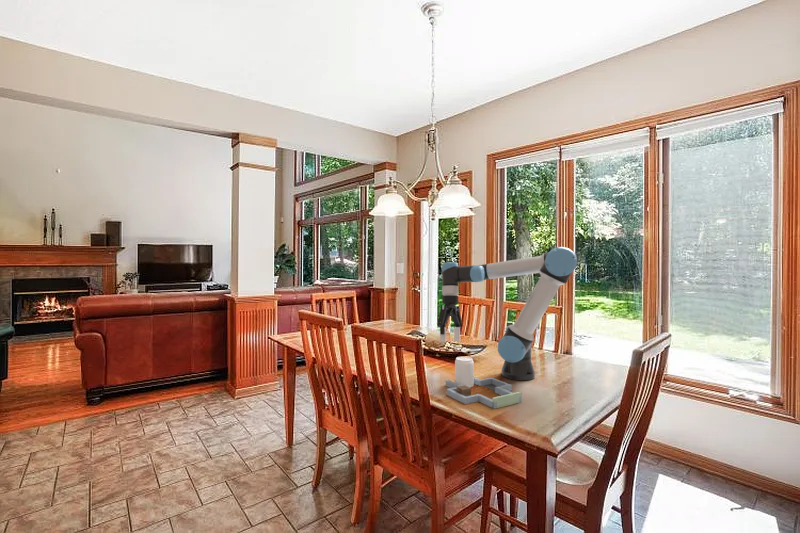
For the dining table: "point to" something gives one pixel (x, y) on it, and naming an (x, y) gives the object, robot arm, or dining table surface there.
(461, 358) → the beverage can
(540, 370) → the dining table surface
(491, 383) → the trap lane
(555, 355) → the dining table surface
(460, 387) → the walnut cube
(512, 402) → the end wall
